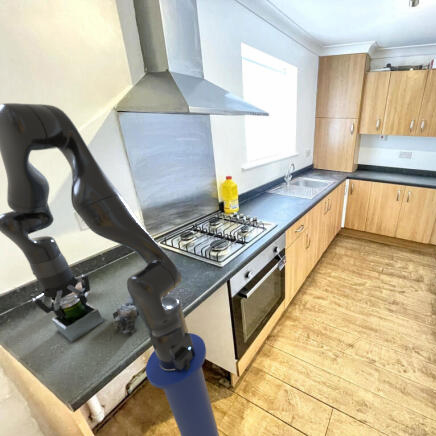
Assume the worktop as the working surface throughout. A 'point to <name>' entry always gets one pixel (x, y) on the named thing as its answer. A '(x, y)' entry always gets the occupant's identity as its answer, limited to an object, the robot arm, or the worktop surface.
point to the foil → (125, 317)
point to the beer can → (72, 308)
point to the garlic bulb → (79, 287)
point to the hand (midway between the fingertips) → (73, 310)
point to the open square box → (79, 323)
